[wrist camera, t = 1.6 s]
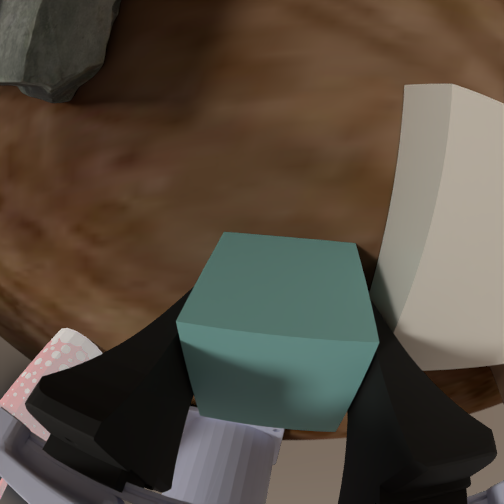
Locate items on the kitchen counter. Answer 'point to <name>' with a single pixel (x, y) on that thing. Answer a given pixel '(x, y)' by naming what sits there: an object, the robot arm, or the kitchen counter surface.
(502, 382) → the walnut cube
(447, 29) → the kitchen counter surface
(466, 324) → the ceramic base
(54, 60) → the stone block
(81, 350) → the beverage cup
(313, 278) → the teal cube
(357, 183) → the kitchen counter surface
